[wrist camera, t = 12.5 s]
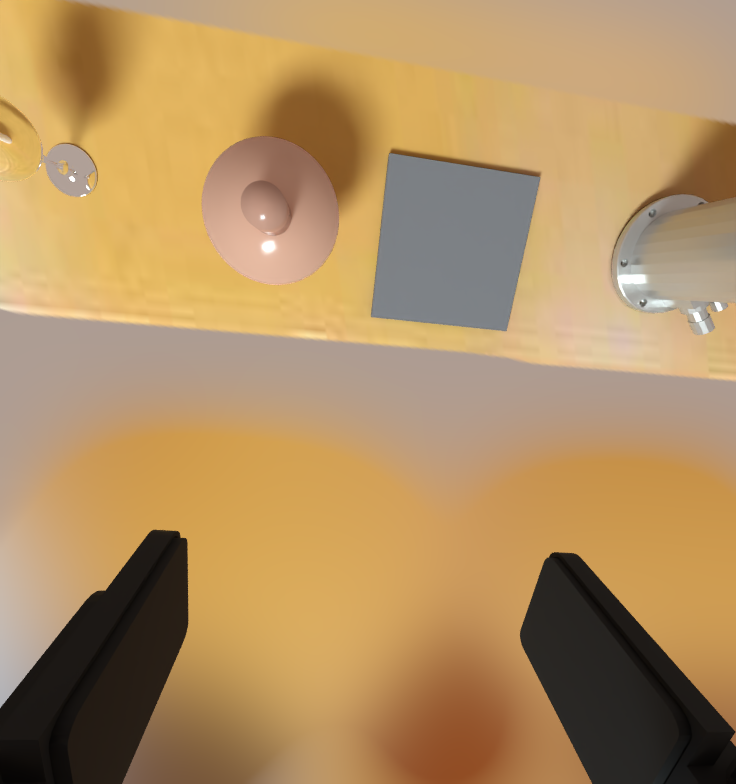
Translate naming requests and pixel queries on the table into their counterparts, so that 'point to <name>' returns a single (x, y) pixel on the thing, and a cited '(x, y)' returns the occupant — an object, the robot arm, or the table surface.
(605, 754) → the robot arm
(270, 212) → the lid
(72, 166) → the wineglass
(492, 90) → the table surface
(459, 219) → the mat
